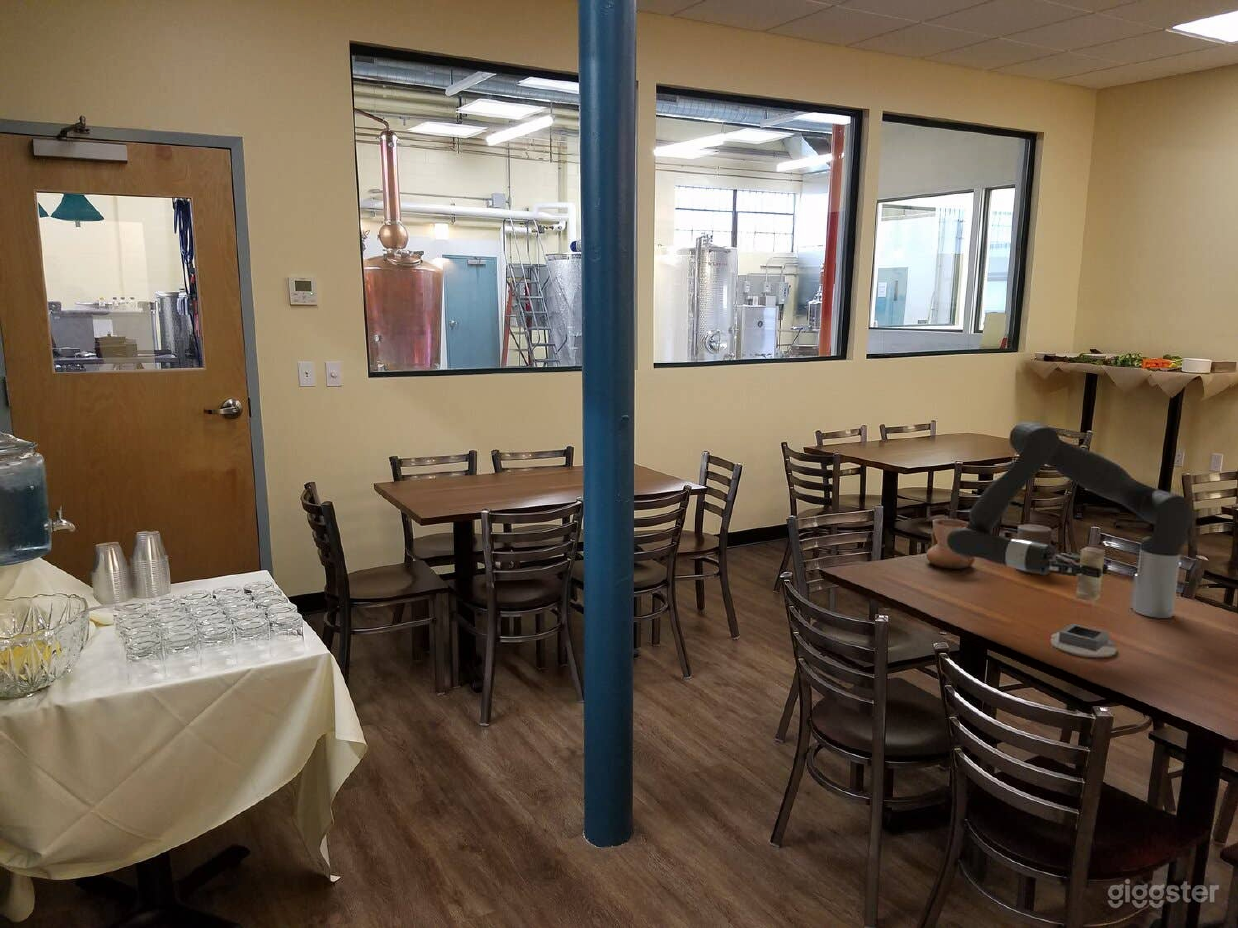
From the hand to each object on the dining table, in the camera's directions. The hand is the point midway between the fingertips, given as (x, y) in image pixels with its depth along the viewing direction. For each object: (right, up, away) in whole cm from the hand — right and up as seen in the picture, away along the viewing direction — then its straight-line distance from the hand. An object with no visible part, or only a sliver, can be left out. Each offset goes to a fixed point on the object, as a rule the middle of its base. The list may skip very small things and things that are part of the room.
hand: (1103, 571), depth 204 cm
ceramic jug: (-9, -7, +72) cm, 73 cm away
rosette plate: (-2, -19, +5) cm, 20 cm away
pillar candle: (+15, -8, +68) cm, 70 cm away
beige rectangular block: (-2, -7, +3) cm, 8 cm away
